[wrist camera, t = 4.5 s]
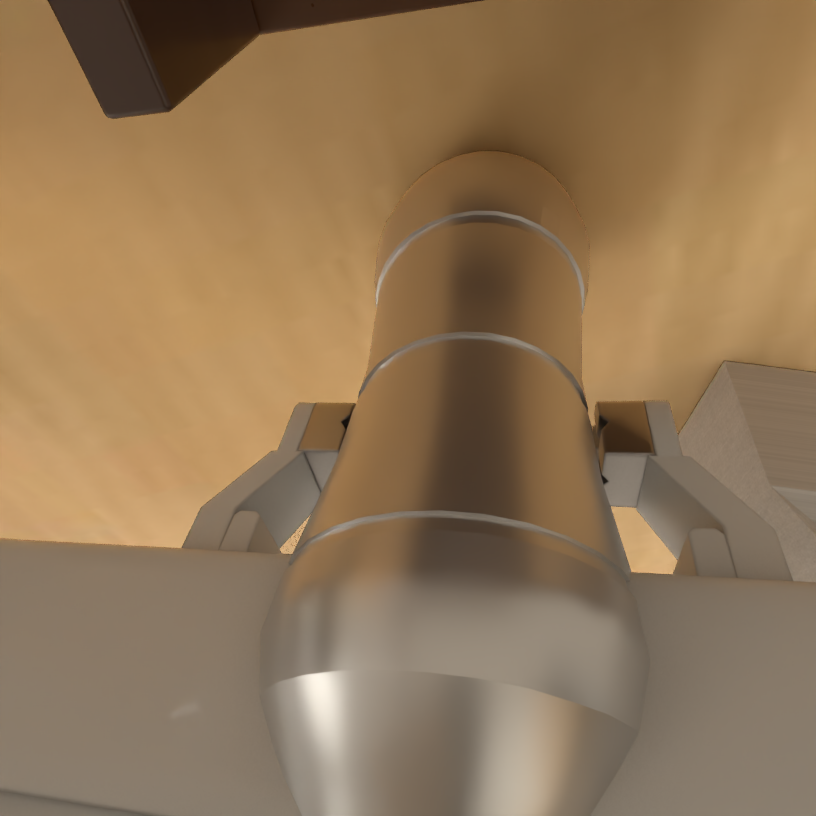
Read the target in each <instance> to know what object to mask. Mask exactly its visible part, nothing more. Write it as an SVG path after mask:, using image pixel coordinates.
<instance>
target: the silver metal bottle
mask: <svg viewBox="0 0 816 816" xmlns="http://www.w3.org/2000/svg"><path fill="white" fill-rule="evenodd" d="M589 254H590V245H589V241H588V236H587V232H586V227H585V225H584V223H583V221H582V218H581V216H580V214H579V212H578V210H577V208H576V206H575V205H574V203H573V201H572V200H571V198H570V196H569V195H568V193H567V191H566V190H565V189H564V188H563V186H562V185H561V184H560V183H559V181H558V180H557V179H556V178H555V177H554V176H553V175H552V174H551V173H549V172H548V171H547V170H545V169H544V168H543V167H542V166H540V165H539V164H537V163H535V162H533V161H530V160H528V159H526V158H524V157H522V156H519V155H514V154H510V153H505V152H501V151H477V152H472V153H467V154H462V155H458V156H455V157H453V158H450V159H448V160H446V161H443V162H441V163H439V164H437V165H436V166H434V167H433V168H431V169H430V170H428V171H427V172H425V173H424V174H423V175H422V176H421V177H420V178H419V179H418V180H417V181H416V182H415V183H414V184H413V185H412V186H411V187H410V188H409V189H408V190H407V192H406V193H405V194H404V196H403V197H402V199H401V200H400V201H399V203H398V204H397V206H396V207H395V209H394V210H393V212H392V213H391V215H390V217H389V218H388V220H387V221H386V224H385V226H384V229H383V232H382V234H381V237H380V240H379V246H378V253H377V261H376V273H375V295H376V315H375V322H374V329H373V336H372V343H371V349H370V356H369V363H368V368H367V371H366V374H365V377H364V380H363V383H362V386H361V389H360V392H359V396H358V401H357V403H356V405H355V407H354V409H353V412H352V415H351V418H350V421H349V424H348V427H347V430H346V433H345V436H344V439H343V442H342V445H341V448H340V451H339V454H338V456H337V459H336V462H335V464H334V466H333V468H332V471H331V473H330V475H329V477H328V479H327V481H326V483H325V486H324V488H323V490H322V492H321V494H320V496H319V499H318V501H317V503H316V505H315V507H314V509H313V511H312V514H311V516H310V518H309V520H308V522H307V524H306V527H305V529H304V531H303V533H302V535H301V537H300V539H299V542H298V544H297V546H296V548H295V550H294V552H293V555H292V557H291V559H290V561H289V563H288V564H291V566H290V567H289V568H288V569H287V570H285V571H284V573H283V575H282V577H281V579H280V582H279V585H278V588H277V590H276V593H275V596H274V598H273V601H272V604H271V607H270V609H269V612H268V614H267V617H266V619H265V622H264V624H263V627H262V629H261V633H260V694H259V695H260V699H261V703H262V707H263V710H264V714H265V718H266V722H267V725H268V729H269V733H270V737H271V740H272V744H273V747H274V750H275V753H276V756H277V759H278V762H279V765H280V767H281V770H282V773H283V776H284V778H285V780H286V783H287V785H288V787H289V789H290V791H291V793H292V795H293V798H294V800H295V802H296V804H297V806H298V808H299V810H300V813H301V815H302V816H590V815H591V813H592V812H593V810H594V809H595V807H596V805H597V804H598V802H599V801H600V799H601V797H602V796H603V794H604V793H605V791H606V790H607V788H608V786H609V785H610V783H611V782H612V780H613V779H614V777H615V775H616V774H617V772H618V770H619V768H620V767H621V765H622V763H623V761H624V759H625V757H626V755H627V754H628V752H629V750H630V748H631V746H632V744H633V742H634V740H635V739H636V737H637V735H638V733H639V727H640V721H641V715H642V709H643V703H644V697H645V691H646V684H647V678H648V672H649V666H650V657H649V654H648V650H647V646H646V642H645V638H644V634H643V630H642V625H641V621H640V616H639V612H638V607H637V600H636V599H635V598H634V596H633V595H632V594H631V592H630V591H629V590H628V588H627V584H626V581H631V580H630V572H631V570H630V566H629V563H628V560H627V557H626V554H625V551H624V548H623V544H622V541H621V538H620V535H619V532H618V529H617V525H616V522H615V519H614V516H613V513H612V510H611V507H610V503H609V500H608V497H607V494H606V491H605V488H604V485H603V481H602V478H601V473H600V468H599V463H598V458H597V453H596V448H595V442H594V437H593V432H592V427H591V423H590V420H589V416H588V407H587V402H586V397H585V392H584V387H583V382H582V313H583V309H584V305H585V301H586V296H587V291H588V278H589Z"/></svg>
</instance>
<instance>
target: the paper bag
mask: <svg viewBox="0 0 816 816" xmlns="http://www.w3.org/2000/svg"><path fill="white" fill-rule="evenodd" d="M678 438H679V442H680V446H681V450H682V454H683V456H690V457H692V458H693V459H694V460H695V461H696V462H697V463H699V464H700V465H701V466H702V467H703V468H704V469H706V470H707V471H708V472H709V473H710V474H711V475H713V476H714V477H715V478H716V479H717V480H718V481H720V482H721V483H722V484H723V485H724V486H725V487H727V488H728V489H729V490H730V491H731V492H732V493H734V494H735V495H736V496H737V497H738V498H739V499H741V500H742V501H743V502H744V503H745V504H746V505H748V506H749V507H750V508H751V509H752V510H753V511H755V512H756V513H757V514H758V515H759V516H760V517H761V518H763V519H764V520H765V521H766V522H767V523H768V524H770V525H771V526H772V527H773V528H774V529H775V531H776V533H777V536H778V539H779V542H780V545H781V547H782V550H783V553H784V556H785V559H786V562H787V564H788V567H789V570H790V573H791V576H792V578H793V581H803V582H816V372H808V371H800V370H792V369H785V368H777V367H769V366H761V365H753V364H745V363H737V362H729V361H724V362H723V364H722V365H721V367H720V368H719V370H718V372H717V373H716V375H715V377H714V378H713V380H712V381H711V383H710V385H709V386H708V388H707V389H706V391H705V393H704V394H703V396H702V398H701V399H700V401H699V402H698V404H697V406H696V407H695V409H694V411H693V412H692V414H691V415H690V417H689V419H688V420H687V422H686V423H685V425H684V427H683V428H682V430H681V432H680V433H679V435H678Z"/></svg>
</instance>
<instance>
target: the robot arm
mask: <svg viewBox="0 0 816 816" xmlns="http://www.w3.org/2000/svg"><path fill="white" fill-rule="evenodd" d="M355 405H356V404H355V403H298V404H297V405H296V406H295V407H294V410H293V412H292V415H291V417H290V420H289V422H288V425H287V427H286V430H285V432H284V435H283V437H282V440H281V442H280V445H279V447H278V450H277V451H271V452H270V453H268V454H267V455H266V456H265V457H263V458H262V459H261V460H260V461H258V462H257V463H256V464H255V465H253V466H252V467H251V468H250V469H248V470H247V471H246V472H245V473H243V474H242V475H241V476H240V477H238V478H237V479H236V480H235V481H233V482H232V483H231V484H230V485H228V486H227V487H226V488H225V489H223V490H222V491H221V492H220V493H218V494H217V495H216V496H215V497H213V498H212V499H211V500H210V501H208V502H207V503H206V504H205V505H203V506H202V507H201V508H200V510H199V512H198V515H197V517H196V519H195V521H194V523H193V525H192V527H191V529H190V531H189V533H188V535H187V537H186V540H185V542H184V544H183V546H182V548H167V547H148V546H130V545H111V544H92V543H73V542H54V541H35V540H19V539H6V538H0V816H302V815H301V813H300V810H299V808H298V806H297V804H296V802H295V800H294V798H293V795H292V793H291V791H290V789H289V787H288V785H287V783H286V780H285V778H284V776H283V773H282V770H281V767H280V765H279V762H278V759H277V756H276V753H275V750H274V747H273V744H272V740H271V737H270V733H269V729H268V725H267V722H266V718H265V714H264V710H263V707H262V703H261V699H260V695H259V694H260V633H261V629H262V627H263V624H264V622H265V619H266V617H267V614H268V612H269V609H270V607H271V604H272V601H273V598H274V596H275V593H276V590H277V588H278V585H279V582H280V579H281V577H282V575H283V573H284V571H285V570H287V569H288V568H289V567H290V566H291V564H288V563H289V561H290V559H291V557H292V555H293V554H282V553H281V551H280V548H281V546H282V545H283V544H284V543H285V542H286V541H287V540H288V539H289V538H290V537H291V535H292V534H293V533H294V532H295V531H296V530H297V529H298V528H299V527H300V525H301V524H302V523H303V522H304V521H305V520H306V519H307V518H308V517H309V516H310V514H311V513H312V511H313V509H314V507H315V505H316V503H317V501H318V499H319V496H320V494H321V492H322V490H323V488H324V486H325V483H326V481H327V479H328V477H329V475H330V473H331V471H332V468H333V466H334V464H335V462H336V459H337V456H338V454H339V451H340V448H341V445H342V442H343V439H344V436H345V433H346V430H347V427H348V424H349V421H350V418H351V415H352V412H353V409H354V407H355ZM594 415H595V424H596V425H595V426H594V427H593V431H592V432H593V437H594V442H595V448H596V453H597V458H598V463H599V468H600V473H601V478H602V481H603V485H604V488H605V491H606V494H607V497H608V500H609V503H610V506H616V507H635V508H636V510H637V511H638V512H639V513H640V515H641V516H642V517H643V518H644V520H645V521H646V522H647V523H648V524H649V526H650V527H651V528H652V529H653V531H654V532H655V533H656V534H657V535H658V537H659V538H660V539H661V540H662V542H663V543H664V544H665V545H666V547H667V548H668V549H669V550H670V551H671V553H672V554H673V555H674V556H675V558H676V559H677V560H678V561H677V564H676V567H675V570H674V572H673V574H654V573H636V572H630V580H631V581H626V584H627V588H628V590H629V591H630V592H631V594H632V595H633V596H634V598H635V599H636V600H637V607H638V612H639V616H640V621H641V625H642V630H643V634H644V638H645V642H646V646H647V650H648V654H649V657H650V666H649V672H648V678H647V684H646V691H645V697H644V703H643V709H642V715H641V721H640V727H639V733H638V735H637V737H636V739H635V740H634V742H633V744H632V746H631V748H630V750H629V752H628V754H627V755H626V757H625V759H624V761H623V763H622V765H621V767H620V768H619V770H618V772H617V774H616V775H615V777H614V779H613V780H612V782H611V783H610V785H609V786H608V788H607V790H606V791H605V793H604V794H603V796H602V797H601V799H600V801H599V802H598V804H597V805H596V807H595V809H594V810H593V812H592V813H591V815H590V816H816V582H803V581H793V578H792V576H791V573H790V570H789V567H788V564H787V562H786V559H785V556H784V553H783V550H782V547H781V545H780V542H779V539H778V536H777V533H776V531H775V529H774V528H773V527H772V526H771V525H770V524H768V523H767V522H766V521H765V520H764V519H763V518H761V517H760V516H759V515H758V514H757V513H756V512H755V511H753V510H752V509H751V508H750V507H749V506H748V505H746V504H745V503H744V502H743V501H742V500H741V499H739V498H738V497H737V496H736V495H735V494H734V493H732V492H731V491H730V490H729V489H728V488H727V487H725V486H724V485H723V484H722V483H721V482H720V481H718V480H717V479H716V478H715V477H714V476H713V475H711V474H710V473H709V472H708V471H707V470H706V469H704V468H703V467H702V466H701V465H700V464H699V463H697V462H696V461H695V460H694V459H693V458H692V457H690V456H683V454H682V450H681V446H680V442H679V438H678V434H677V430H676V426H675V422H674V419H673V415H672V411H671V407H670V404H669V402H668V401H643V402H642V401H605V402H596V405H595V413H594Z"/></svg>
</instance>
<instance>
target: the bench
mask: <svg viewBox="0 0 816 816" xmlns="http://www.w3.org/2000/svg"><path fill="white" fill-rule="evenodd" d="M477 1H483V0H48V2H49V4H50V6H51V8H52V10H53V12H54V14H55V16H56V18H57V20H58V22H59V24H60V26H61V28H62V30H63V32H64V34H65V36H66V38H67V40H68V42H69V44H70V46H71V48H72V50H73V52H74V54H75V56H76V58H77V60H78V62H79V64H80V66H81V68H82V70H83V72H84V74H85V76H86V78H87V80H88V82H89V84H90V86H91V88H92V90H93V92H94V94H95V96H96V98H97V100H98V102H99V104H100V106H101V108H102V110H103V112H104V114H105V115H106V116H107V117H108V118H112V119H118V118H125V117H133V116H141V115H149V114H157V113H164V112H170V111H171V110H172V109H173V108H175V107H176V106H177V105H178V104H179V103H181V102H182V101H183V100H184V99H185V98H186V97H188V96H189V95H190V94H191V93H192V92H193V91H195V90H196V89H197V88H198V87H199V86H200V85H202V84H203V83H204V82H205V81H206V80H207V79H209V78H210V77H211V76H212V75H213V74H215V73H216V72H217V71H218V70H219V69H220V68H222V67H223V66H224V65H225V64H226V63H227V62H229V61H230V60H231V59H232V58H233V57H234V56H236V55H237V54H238V53H239V52H240V51H241V50H243V49H244V48H245V47H246V46H247V45H249V44H250V43H251V42H252V41H253V40H254V39H256V38H257V37H258V36H259V35H262V34H269V33H275V32H282V31H288V30H295V29H301V28H308V27H314V26H321V25H327V24H334V23H340V22H347V21H353V20H360V19H366V18H373V17H379V16H386V15H392V14H399V13H405V12H412V11H418V10H425V9H431V8H438V7H444V6H451V5H457V4H464V3H470V2H477Z"/></svg>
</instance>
